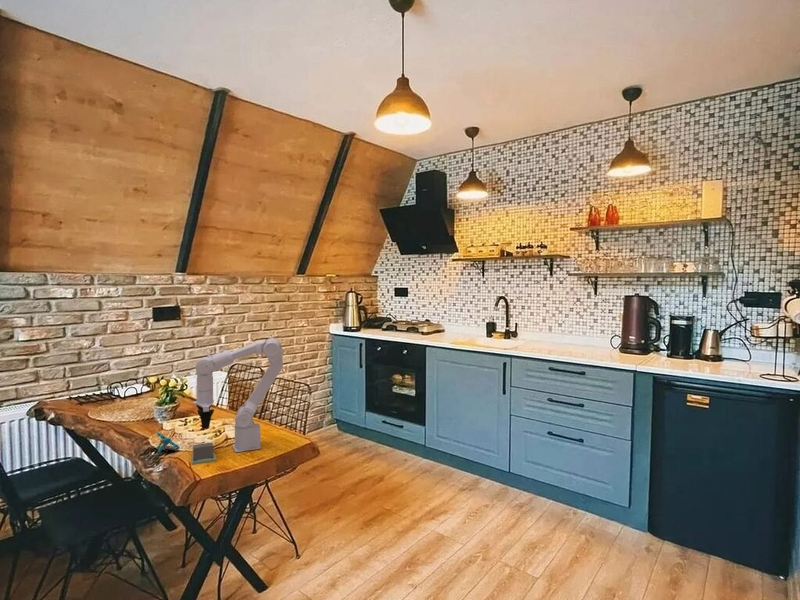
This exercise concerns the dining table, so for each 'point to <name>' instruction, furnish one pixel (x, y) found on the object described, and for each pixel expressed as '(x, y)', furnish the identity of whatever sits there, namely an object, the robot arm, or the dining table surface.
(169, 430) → the dining table surface
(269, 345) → the robot arm
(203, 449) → the plug housing
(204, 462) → the header board
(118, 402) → the dining table surface
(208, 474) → the dining table surface
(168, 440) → the teal plastic t-shaped piece
